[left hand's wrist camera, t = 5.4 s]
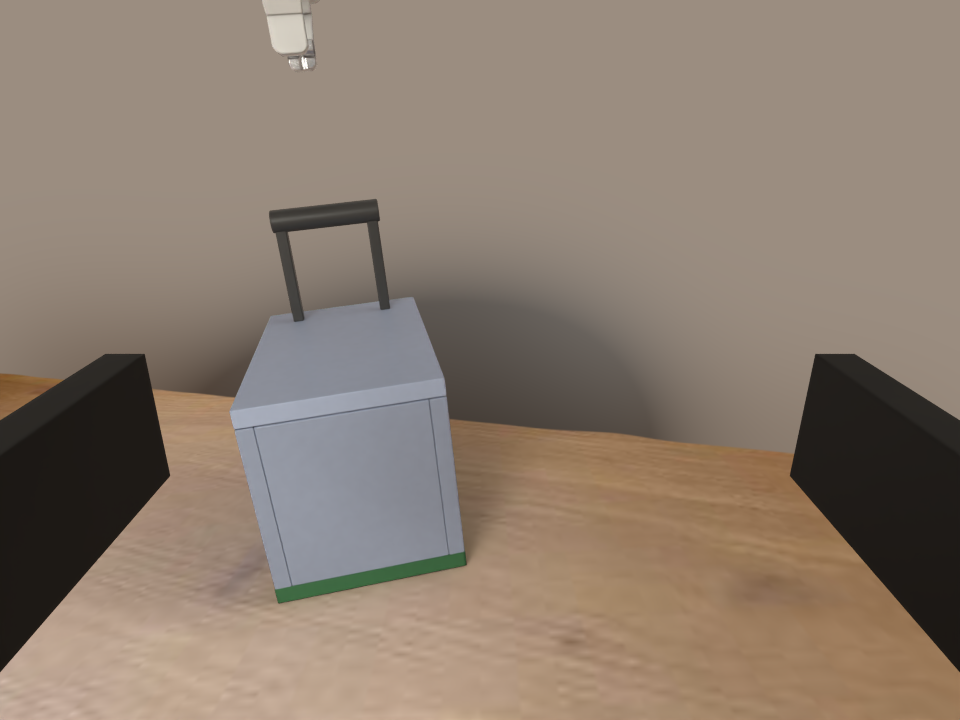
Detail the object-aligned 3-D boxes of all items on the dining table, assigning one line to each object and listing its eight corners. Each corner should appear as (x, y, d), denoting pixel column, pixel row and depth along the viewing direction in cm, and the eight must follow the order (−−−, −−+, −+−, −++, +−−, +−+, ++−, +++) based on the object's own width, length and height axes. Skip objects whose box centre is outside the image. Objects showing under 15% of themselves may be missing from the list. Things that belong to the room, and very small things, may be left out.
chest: (300, 458, 48) (272, 331, 44) (431, 436, 50) (415, 311, 46) (278, 603, 33) (233, 431, 30) (466, 565, 35) (446, 396, 31)
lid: (273, 328, 45) (247, 210, 42) (414, 309, 46) (399, 193, 43) (233, 429, 30) (188, 253, 26) (446, 395, 31) (426, 225, 28)
